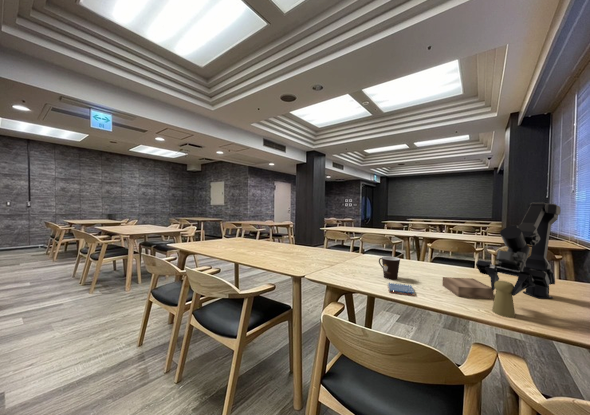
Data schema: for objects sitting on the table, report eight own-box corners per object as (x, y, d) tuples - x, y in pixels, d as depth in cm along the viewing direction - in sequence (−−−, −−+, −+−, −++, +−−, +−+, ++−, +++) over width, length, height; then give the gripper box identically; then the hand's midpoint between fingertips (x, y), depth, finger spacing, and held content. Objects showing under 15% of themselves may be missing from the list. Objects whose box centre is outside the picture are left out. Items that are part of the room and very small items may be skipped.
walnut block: (473, 287, 106) (473, 278, 106) (493, 298, 94) (493, 288, 94) (442, 285, 108) (442, 277, 108) (458, 296, 95) (458, 286, 95)
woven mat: (412, 289, 105) (412, 284, 105) (415, 297, 95) (416, 292, 95) (387, 286, 108) (387, 281, 108) (388, 294, 98) (388, 289, 98)
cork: (520, 318, 77) (521, 285, 77) (499, 316, 78) (499, 283, 78) (507, 310, 83) (508, 279, 83) (488, 308, 84) (488, 278, 84)
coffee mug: (402, 280, 115) (403, 260, 115) (385, 280, 115) (385, 260, 115) (393, 273, 126) (393, 255, 126) (377, 273, 126) (377, 255, 126)
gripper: (478, 238, 91) (463, 270, 85) (547, 246, 74) (534, 287, 69) (487, 257, 95) (473, 288, 89) (554, 268, 78) (542, 307, 73)
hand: (502, 292), depth 80 cm, fingers closed on cork, 5 cm apart
